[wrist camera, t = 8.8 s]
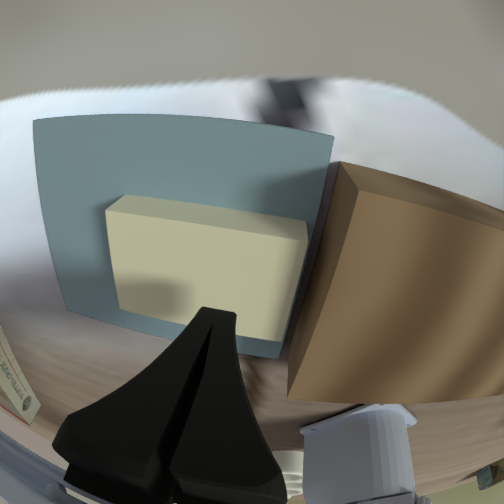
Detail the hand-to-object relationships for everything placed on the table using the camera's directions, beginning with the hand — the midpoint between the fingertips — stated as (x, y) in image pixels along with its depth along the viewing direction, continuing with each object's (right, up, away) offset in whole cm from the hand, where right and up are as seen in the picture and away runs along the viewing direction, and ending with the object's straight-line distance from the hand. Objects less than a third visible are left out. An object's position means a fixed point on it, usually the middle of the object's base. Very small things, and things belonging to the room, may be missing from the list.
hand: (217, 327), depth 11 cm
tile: (-1, +3, +4) cm, 5 cm away
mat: (-4, +3, +4) cm, 7 cm away
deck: (+15, 0, +4) cm, 16 cm away
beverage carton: (+69, -51, +28) cm, 90 cm away
